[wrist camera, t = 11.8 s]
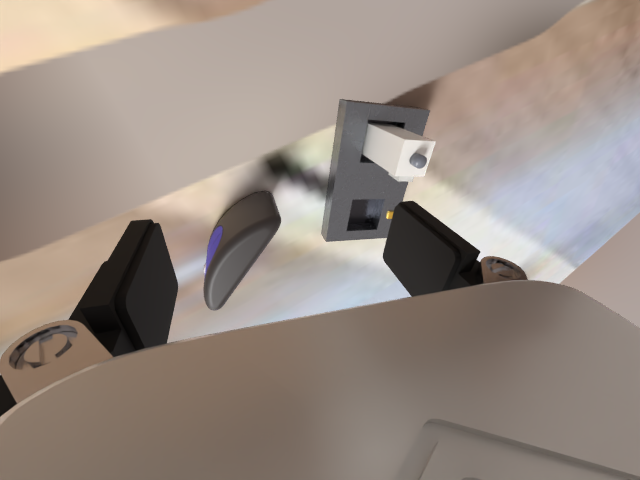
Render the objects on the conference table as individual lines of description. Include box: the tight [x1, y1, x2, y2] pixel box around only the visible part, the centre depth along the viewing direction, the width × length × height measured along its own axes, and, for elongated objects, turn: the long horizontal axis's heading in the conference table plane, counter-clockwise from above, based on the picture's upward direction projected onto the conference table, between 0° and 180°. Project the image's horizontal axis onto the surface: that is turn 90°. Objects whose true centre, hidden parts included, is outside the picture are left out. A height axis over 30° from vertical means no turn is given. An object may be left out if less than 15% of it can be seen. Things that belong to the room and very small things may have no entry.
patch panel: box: [321, 99, 430, 242], centre depth 39 cm, size 20×12×3 cm, turn 173°
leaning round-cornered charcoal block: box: [203, 191, 281, 310], centre depth 35 cm, size 16×5×9 cm, turn 141°
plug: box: [362, 122, 436, 182], centre depth 33 cm, size 5×4×11 cm
